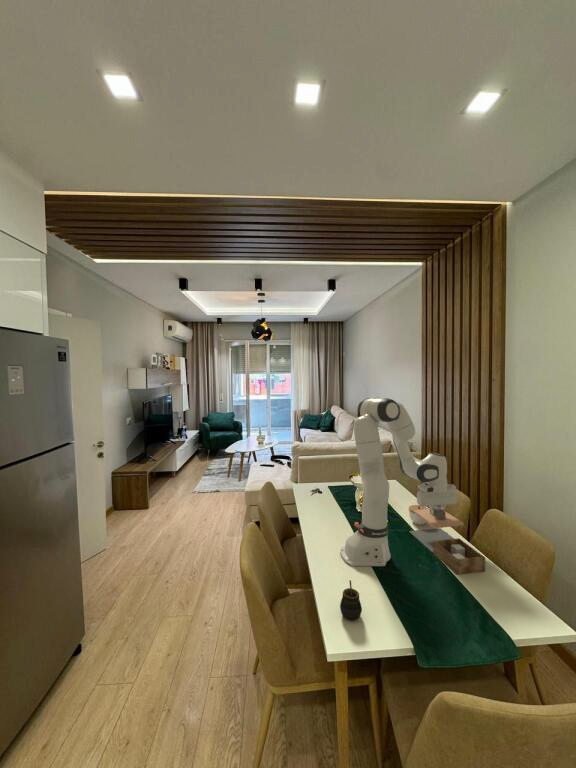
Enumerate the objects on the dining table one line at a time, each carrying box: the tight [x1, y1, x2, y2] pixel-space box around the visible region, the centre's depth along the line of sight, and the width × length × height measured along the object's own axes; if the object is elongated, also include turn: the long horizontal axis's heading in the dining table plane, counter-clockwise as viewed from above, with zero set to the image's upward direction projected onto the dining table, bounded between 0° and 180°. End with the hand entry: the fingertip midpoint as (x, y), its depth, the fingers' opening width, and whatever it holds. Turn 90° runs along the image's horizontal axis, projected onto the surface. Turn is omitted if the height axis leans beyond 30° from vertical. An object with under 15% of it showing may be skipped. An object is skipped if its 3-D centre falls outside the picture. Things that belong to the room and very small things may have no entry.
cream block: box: [452, 553, 465, 559], centre depth 140 cm, size 4×4×4 cm
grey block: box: [451, 544, 465, 557], centre depth 148 cm, size 4×4×4 cm
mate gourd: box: [339, 579, 363, 621], centre depth 112 cm, size 7×8×10 cm
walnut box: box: [432, 537, 486, 576], centre depth 144 cm, size 13×16×6 cm
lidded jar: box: [408, 504, 429, 526], centre depth 182 cm, size 11×11×9 cm
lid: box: [414, 505, 465, 529], centre depth 162 cm, size 15×18×5 cm
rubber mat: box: [409, 528, 455, 553], centre depth 163 cm, size 18×20×1 cm
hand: (437, 513), depth 163 cm, fingers closed on lid, 3 cm apart
